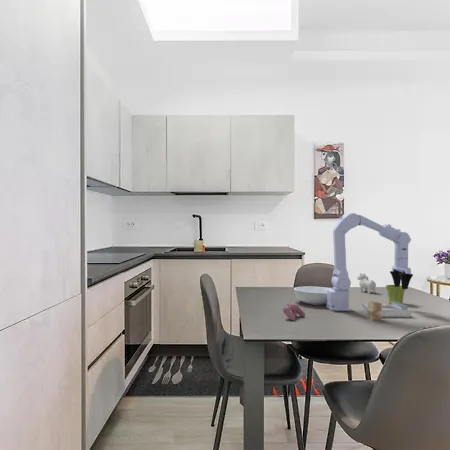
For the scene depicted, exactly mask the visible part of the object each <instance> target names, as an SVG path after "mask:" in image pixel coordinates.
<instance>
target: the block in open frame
mask: <svg viewBox="0 0 450 450" xmlns="http://www.w3.org/2000/svg"><path fill="white" fill-rule="evenodd" d="M361 309H362V312H364V313H365V314H367V315H368V303H362V308H361ZM411 317H412V309H409V307H408V305H407V304H403V303H399V302H397V301H391V304H390V303H388V304H387V303H382V318H411Z"/></svg>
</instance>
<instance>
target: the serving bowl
mask: <svg viewBox="0 0 450 450" xmlns="http://www.w3.org/2000/svg"><path fill="white" fill-rule="evenodd" d="M332 289H333V288H330V287H325V286H324V287H323V286H312V285H310V286H309V285H307V286H306V285H305V286H297V287H294V288H293V292H294V296H295V297H296V298H297V299H298V300H299V301H300V302H303V303H306V304H308V305H313V306H320V305H327V291H328V290H332Z"/></svg>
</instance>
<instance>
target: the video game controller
mask: <svg viewBox="0 0 450 450" xmlns="http://www.w3.org/2000/svg"><path fill="white" fill-rule="evenodd" d="M282 312H283V314H284V315H285V316H286V318H288V319H289V320H291V321H293V322H294V321H295V320H296V317H297V316H298V315H299V316H300V317H301V318H302V317H303V318H305V316H306V313H305V311H303V309H302V308H301V307H300V306H299V305H298V304H297V302H296V303H287V304H286V305H284V306H283V308H282Z"/></svg>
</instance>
